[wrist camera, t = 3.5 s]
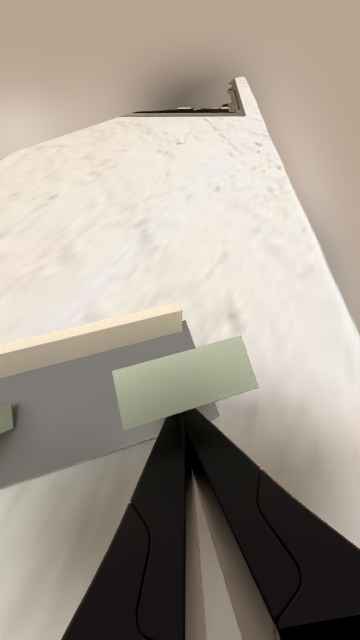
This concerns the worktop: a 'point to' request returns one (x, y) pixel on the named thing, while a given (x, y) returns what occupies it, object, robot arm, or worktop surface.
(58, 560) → the worktop surface
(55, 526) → the worktop surface
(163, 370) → the flip switch
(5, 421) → the hold switch
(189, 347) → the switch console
